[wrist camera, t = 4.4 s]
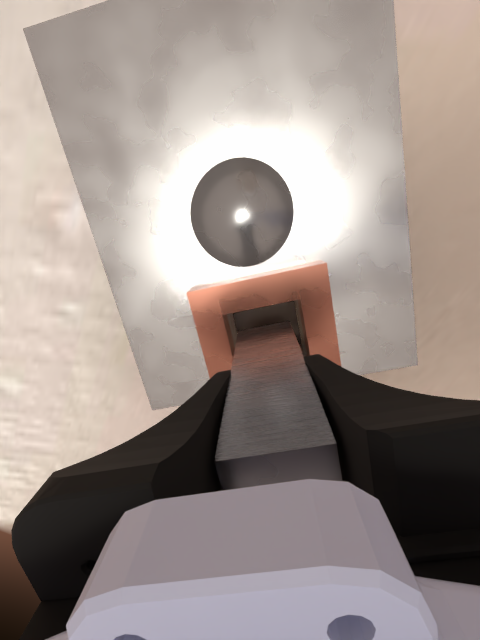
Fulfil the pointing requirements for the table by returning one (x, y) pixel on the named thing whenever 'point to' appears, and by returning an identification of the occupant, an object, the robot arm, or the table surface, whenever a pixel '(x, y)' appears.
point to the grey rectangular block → (273, 415)
